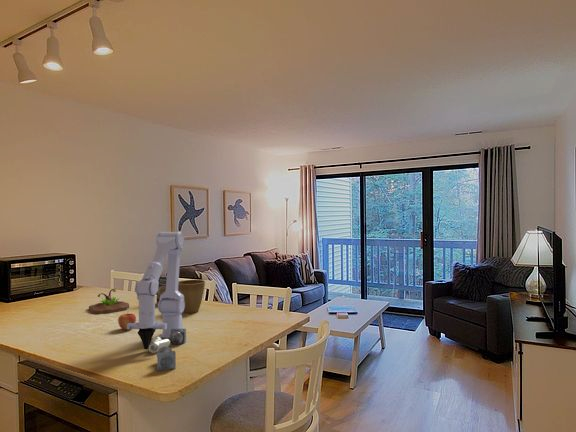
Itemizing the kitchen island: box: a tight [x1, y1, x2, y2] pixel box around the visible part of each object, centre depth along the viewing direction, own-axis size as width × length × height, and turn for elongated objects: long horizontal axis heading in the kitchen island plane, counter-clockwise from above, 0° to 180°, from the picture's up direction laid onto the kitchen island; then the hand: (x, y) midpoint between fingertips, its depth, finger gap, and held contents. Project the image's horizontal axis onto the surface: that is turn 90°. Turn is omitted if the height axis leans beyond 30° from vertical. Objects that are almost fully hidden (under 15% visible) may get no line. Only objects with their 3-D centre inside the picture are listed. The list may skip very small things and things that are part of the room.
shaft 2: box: [168, 328, 187, 346], centre depth 148 cm, size 4×6×5 cm
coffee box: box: [156, 275, 176, 305], centre depth 218 cm, size 9×6×16 cm
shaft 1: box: [156, 346, 177, 372], centre depth 126 cm, size 8×6×5 cm
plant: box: [88, 288, 130, 315], centre depth 206 cm, size 20×20×11 cm
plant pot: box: [178, 279, 206, 314], centre depth 200 cm, size 15×15×16 cm
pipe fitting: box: [148, 336, 171, 354], centre depth 141 cm, size 8×4×7 cm
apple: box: [117, 313, 137, 331], centre depth 167 cm, size 7×7×8 cm
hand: (146, 348), depth 139 cm, fingers closed
